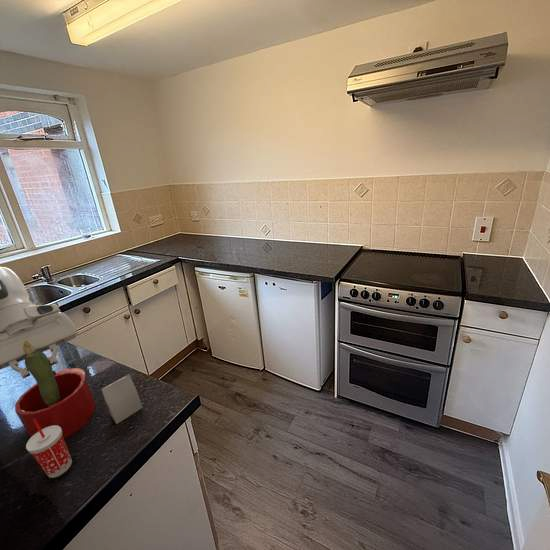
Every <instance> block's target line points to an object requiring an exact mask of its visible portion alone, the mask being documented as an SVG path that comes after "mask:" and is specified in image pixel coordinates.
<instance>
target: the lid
mask: <svg viewBox="0 0 550 550" xmlns="http://www.w3.org/2000/svg"><path fill="white" fill-rule="evenodd" d="M75 371H76V372H79V373H82V374H83V375H84V377H85V378H86V376H87V373H86V372H85V370H83V369H82V368H77V367H72V368H66V369H63V370H59V371H56V370H53V374H54V375H57V374H61V373H65V372H75ZM36 384H37V382H36V383H35V384H34V385H36Z"/></svg>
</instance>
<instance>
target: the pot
mask: <svg viewBox="0 0 550 550" xmlns="http://www.w3.org/2000/svg"><path fill="white" fill-rule="evenodd" d="M54 377H55V380H56V383H57V386H58V389H59V395H60V400H59V403H57V404H55V405H53V406H51V407H48V405H47V404H45V402H44V400H43V398H42V396H41V394H40V390H39V386H38V384H36V383H35V384H36V385H35V384H34V385H33V386H31V387H29V388H28V389H26V391H25V392H23V394H21V395H20V396H19V397H18V399H17V401H16V403H15V404H14V411H15V413H16V415H17V417H18V418H19V421H20V423H21V424H22V426H23V428H24V429H25V431H26V433H27V435H28V437H29V439H30V438H31V437H32V436H33V435H34V434H36V433H37V432H39V431H38V429H37V427H36V425H35V423H34V422H33V419H36V420H37V422H38V424H39V426H40V428H41V430H42V429H44V428H46V427H49V426H53V425H54V426H59V427H61V430H62V436H63V438H64V439H66V438H68V437H70V436H71V435H74V434H75V433H77V432H78V431H79V430H81V429H82V428H83V427H84V426H86V424H88V422H89V421H90V420H91V419H92V418H91V417H92V415H93V414H94V413H95V410H96V406H97V403H96V401H95V397H94V396H93V393H92V392H91V390H90V387H89V384H88V382H87V379H86V377H84V375H83V374H82V373H79V372H76V371H75V372H65V373H61V374H57V375H54Z"/></svg>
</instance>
